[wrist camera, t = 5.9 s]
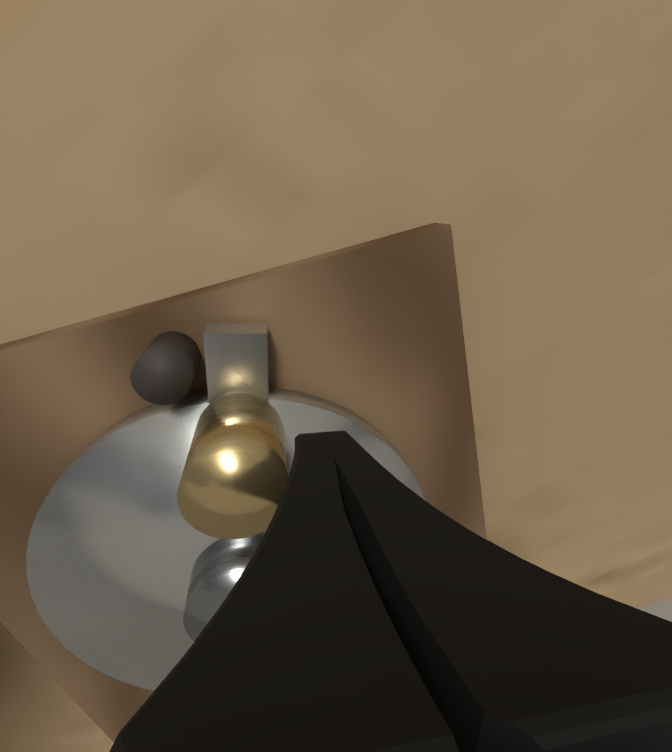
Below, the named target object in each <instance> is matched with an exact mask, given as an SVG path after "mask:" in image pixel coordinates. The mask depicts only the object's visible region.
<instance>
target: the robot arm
mask: <svg viewBox="0 0 672 752" xmlns="http://www.w3.org/2000/svg"><path fill="white" fill-rule="evenodd" d="M294 441H295V452H294V458H293V462H292V466H291V470H290V473H289V476H288V479H287V483H286V486H285V489H284V491H283V494H282V496H281V499H280V501H279V503H278V506H277V508H276V511H275V513H274V515H273V518H272V520H271V522H270V524H269V526H268V528H267V530H266V532H265V534H264V536H263V538H262V540H261V542H260V543H259V545H258V547H257V549H256V551H255V553H254V554H253V556H252V558H251V559H250V561H249V563H248V564H247V566H246V568H245V569H244V571H243V573H242V574H241V576H240V577H239V579H238V581H237V582H236V584H235V585H234V587H233V588H232V590H231V591H230V593H229V594H228V596H227V597H226V599H225V600H224V602H223V603H222V605H221V606H220V607H219V609H218V610H217V611H216V613H215V614H214V615H213V617H212V618H211V620H210V621H209V622H208V624H207V625H206V626H205V628H204V629H203V630H202V632H201V633H200V635H199V636H198V637H197V639H196V640H195V641H194V643H193V644H192V646H191V647H190V648H189V649H188V651H187V652H186V653H185V654H184V656H183V657H182V658H181V660H180V661H179V662H178V663H177V664H176V666H175V667H174V668H173V669H172V670H171V672H170V673H169V674H168V675H167V676H166V677H165V679H164V680H163V681H162V682H161V683H160V685H159V686H158V687H157V688H156V689H155V691H154V692H153V693H152V694H151V695H150V696H149V698H148V699H147V700H146V701H145V702H144V704H143V705H142V706H141V707H140V708H139V709H138V711H137V712H136V713H135V714H134V715H133V717H132V718H131V719H130V720H129V721H128V722H127V724H126V725H125V726H124V727H123V728H122V730H121V731H120V732H119V734H118V735H117V737H116V739H115V742H114V744H113V746H112V748H111V750H110V752H672V622H670V621H667V620H665V619H662V618H659V617H657V616H654V615H652V614H649V613H647V612H644V611H641V610H639V609H636V608H634V607H631V606H628V605H626V604H623V603H621V602H618V601H615V600H613V599H610V598H608V597H605V596H603V595H600V594H598V593H595V592H593V591H590V590H588V589H586V588H584V587H581V586H579V585H577V584H575V583H572V582H570V581H568V580H566V579H564V578H561V577H559V576H557V575H555V574H552V573H550V572H548V571H546V570H544V569H542V568H540V567H538V566H536V565H534V564H532V563H530V562H527V561H525V560H523V559H521V558H519V557H517V556H516V555H514V554H512V553H510V552H508V551H506V550H505V549H503V548H501V547H499V546H497V545H495V544H493V543H492V542H490V541H488V540H486V539H484V538H482V537H481V536H479V535H477V534H476V533H474V532H472V531H470V530H469V529H467V528H466V527H464V526H462V525H461V524H459V523H458V522H456V521H455V520H453V519H452V518H450V517H448V516H447V515H445V514H444V513H442V512H441V511H439V510H438V509H436V508H435V507H433V506H432V505H431V504H429V503H428V502H426V501H425V500H424V499H422V498H421V497H420V496H418V495H417V494H416V493H415V492H413V491H412V490H411V489H409V488H408V487H407V486H405V485H404V484H403V483H402V482H401V481H399V480H398V479H397V478H396V477H394V476H393V475H392V474H391V473H390V472H389V471H388V470H386V469H385V468H384V467H383V466H382V465H381V464H380V463H379V462H378V461H376V460H375V459H374V458H373V457H372V456H371V455H370V454H369V453H368V452H367V451H366V450H365V449H364V448H363V447H362V446H361V445H360V444H359V443H358V442H357V441H355V440H354V439H353V438H352V437H351V436H350V435H349V434H348V433H347V432H346V431H345V430H344V431H331V432H317V433H304V434H299V435H297V436H296V437H295V438H294Z"/></svg>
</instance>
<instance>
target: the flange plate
mask: <svg viewBox="0 0 672 752" xmlns="http://www.w3.org/2000/svg"><path fill="white" fill-rule="evenodd" d="M203 340H204V352H205V364H206V376H207V389H204V390H199V391H194V392H189V393H187V394H186V395H185V397H184V398H182V399H181V400H180V401H178V402H176V403H173V404H169V405H158V404H151V405H149V406H147V407H145V408H142V409H140V410H138V411H136V412H134V413H132V414H130V415H128V416H126V417H124V418H123V419H121V420H120V421H118V422H117V423H115V424H114V425H112V426H111V427H109V428H107V429H106V430H104V431H103V432H102V433H101V434H100V435H98V436H97V437H96V438H95V439H94V440H93V441H91V442H90V443H89V444H88V445H87V446H86V447H84V448H83V449H82V451H81V452H80V453H79V454H78V455H77V457H76V458H75V459H74V460H73V461H72V462H71V464H70V465H69V466H68V467H67V468H66V470H65V471H64V472H63V474H62V475H61V476H60V478H59V479H58V481H57V482H56V483H55V485H54V486H53V487H52V489H51V490H50V492H49V493H48V495H47V497H46V498H45V500H44V502H43V503H42V505H41V507H40V508H39V510H38V512H37V515H36V518H35V520H34V523H33V526H32V528H31V531H30V534H29V540H28V546H27V552H26V573H27V580H28V585H29V589H30V593H31V597H32V599H33V602H34V604H35V606H36V608H37V611H38V613H39V615H40V617H41V618H42V620H43V621H44V623H45V624H46V626H47V627H48V628H49V630H50V631H51V633H52V634H53V635H54V636H55V637H56V638H57V639H58V640H59V641H60V642H61V643H62V644H63V645H64V647H65V648H66V649H68V650H69V651H70V652H72V653H73V654H74V655H75V656H77V657H78V658H79V659H80V660H82V661H83V662H85V663H86V664H88V665H90V666H91V667H93V668H95V669H97V670H98V671H100V672H102V673H104V674H106V675H108V676H111V677H113V678H115V679H117V680H119V681H122V682H125V683H128V684H131V685H134V686H137V687H140V688H144V689H148V690H153V691H155V689H156V688H157V687H158V686H159V685H160V683H161V682H162V681H163V680H164V679H165V677H166V676H167V675H168V674H169V673H170V672H171V670H172V669H173V668H174V667H175V666H176V664H177V663H178V662H179V661H180V660H181V658H182V657H183V656H184V654H185V653H186V652H187V651H188V649H189V648H190V647H191V646H192V644H193V643H194V641H195V640H196V639H197V637H198V636H199V635H200V633H201V632H202V630H203V629H204V628H205V626H206V625H207V624H208V622H209V621H210V620H211V618H212V617H213V615H214V614H215V613H216V611H217V610H218V609H219V607H220V606H221V605H222V603H223V602H224V600H225V599H226V597H227V596H228V594H229V593H230V591H231V590H232V588H233V587H234V585H235V584H236V582H237V581H238V579H239V577H240V576H241V574H242V573H243V571H244V569H245V568H246V566H247V564H248V563H249V561H250V559H251V558H252V556H253V554H254V553H255V551H256V549H257V547H258V545H259V543H260V542H261V540H262V538H263V536H264V534H265V532H266V530H267V528H268V526H269V524H270V522H271V520H272V518H273V515H274V513H275V511H276V508H277V506H278V503H279V501H280V499H281V496H282V494H283V491H284V489H285V486H286V483H287V479H288V476H289V473H290V470H291V466H292V462H293V458H294V452H295V441H294V438H295V437H296V436H297V435H299V434H304V433H317V432H331V431H344V430H345V431H346V432H347V433H348V434H349V435H350V436H351V437H352V438H353V439H354V440H355V441H357V442H358V443H359V444H360V445H361V446H362V447H363V448H364V449H365V450H366V451H367V452H368V453H369V454H370V455H371V456H372V457H373V458H374V459H375V460H376V461H378V462H379V463H380V464H381V465H382V466H383V467H384V468H385V469H386V470H388V471H389V472H390V473H391V474H392V475H393V476H394V477H396V478H397V479H398V480H399V481H401V482H402V483H403V484H404V485H405V486H407V487H408V488H409V489H411V490H412V491H413V492H415V493H416V494H417V495H418V496H420V497H421V498H422V499H424V500H425V497H424V495H423V493H422V490H421V488H420V486H419V484H418V482H417V480H416V478H415V476H414V475H413V473H412V471H411V469H410V468H409V466H408V464H407V463H406V461H405V460H404V458H403V457H402V455H401V454H400V452H399V451H398V449H397V448H396V447H395V446H394V445H393V444H392V442H391V441H390V440H389V439H388V438H387V437H386V436H385V435H384V434H383V433H382V432H381V431H380V430H378V429H377V428H376V427H375V426H373V425H372V424H371V423H370V422H368V421H367V420H366V419H364V418H362V417H361V416H359V415H357V414H356V413H354V412H352V411H351V410H349V409H347V408H345V407H343V406H341V405H338V404H336V403H334V402H331V401H329V400H327V399H324V398H321V397H318V396H314V395H311V394H307V393H304V392H300V391H296V390H289V389H283V388H276V387H270V386H268V344H267V323H208V324H207V326H206V328H205V330H204V333H203ZM425 501H426V500H425Z"/></svg>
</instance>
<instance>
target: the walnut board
mask: <svg viewBox="0 0 672 752" xmlns="http://www.w3.org/2000/svg"><path fill="white" fill-rule="evenodd" d="M208 323H267V344H268V386H270V387H276V388H283V389H289V390H296V391H300V392H304V393H307V394H311V395H314V396H318V397H321V398H324V399H327V400H329V401H331V402H334V403H336V404H338V405H341V406H343V407H345V408H347V409H349V410H351V411H352V412H354V413H356V414H357V415H359V416H361V417H362V418H364V419H366V420H367V421H368V422H370V423H371V424H372V425H373V426H375V427H376V428H377V429H378V430H380V431H381V432H382V433H383V434H384V435H385V436H386V437H387V438H388V439H389V440H390V441H391V442H392V444H393V445H394V446H395V447H396V448H397V449H398V451H399V452H400V454H401V455H402V457H403V458H404V460H405V461H406V463H407V464H408V466H409V468H410V469H411V471H412V473H413V475H414V476H415V478H416V480H417V482H418V484H419V486H420V488H421V490H422V493H423V495H424V497H425V500H426V502H428V503H429V504H431V505H432V506H433V507H435V508H436V509H438V510H439V511H441V512H442V513H444V514H445V515H447V516H448V517H450V518H452V519H453V520H455V521H456V522H458V523H459V524H461V525H462V526H464V527H466V528H467V529H469V530H470V531H472V532H474V533H476V534H477V535H479V536H481V537H482V538H484V539H486V530H485V521H484V512H483V504H482V495H481V486H480V477H479V468H478V460H477V451H476V442H475V433H474V424H473V416H472V407H471V398H470V389H469V380H468V372H467V363H466V354H465V345H464V336H463V328H462V319H461V310H460V301H459V292H458V284H457V275H456V266H455V257H454V248H453V240H452V231H451V225H449V224H439V223H433V224H429V225H425V226H422V227H418V228H415V229H411V230H408V231H404V232H401V233H397V234H393V235H390V236H386V237H383V238H379V239H376V240H372V241H368V242H365V243H361V244H358V245H354V246H351V247H347V248H344V249H340V250H336V251H333V252H329V253H326V254H322V255H319V256H315V257H311V258H308V259H304V260H301V261H297V262H294V263H290V264H287V265H283V266H279V267H276V268H272V269H269V270H265V271H262V272H258V273H254V274H251V275H247V276H244V277H240V278H237V279H233V280H230V281H226V282H222V283H219V284H215V285H212V286H208V287H205V288H201V289H198V290H194V291H190V292H187V293H183V294H180V295H176V296H173V297H169V298H165V299H162V300H158V301H155V302H151V303H148V304H144V305H141V306H137V307H133V308H130V309H126V310H123V311H119V312H116V313H112V314H108V315H105V316H101V317H98V318H94V319H91V320H87V321H84V322H80V323H76V324H73V325H69V326H66V327H62V328H59V329H55V330H51V331H48V332H44V333H41V334H37V335H34V336H30V337H27V338H23V339H19V340H16V341H12V342H9V343H5V344H2V345H0V623H1V624H2V625H3V626H4V627H5V628H6V629H7V630H8V631H9V632H10V633H11V635H12V636H13V637H14V638H15V639H16V640H17V641H18V642H19V643H20V644H21V645H22V646H23V647H24V648H25V649H26V650H27V651H28V652H29V653H30V655H31V656H32V657H33V658H34V659H35V660H36V661H37V662H38V663H39V664H40V665H41V666H42V667H43V668H44V669H45V670H46V671H47V672H48V673H49V675H50V676H51V677H52V678H53V679H54V680H55V681H56V682H57V683H58V684H59V685H60V686H61V687H62V688H63V689H64V690H65V691H66V692H67V693H68V695H69V696H70V697H71V698H72V699H73V700H74V701H75V702H76V703H77V704H78V705H79V706H80V707H81V708H82V709H83V710H84V711H85V712H86V714H87V715H88V716H89V717H90V718H91V719H92V720H93V721H94V722H95V723H96V724H97V725H98V726H99V727H100V728H101V729H102V730H103V731H104V732H105V734H106V735H107V736H108V737H109V738H110V739H111V740H112V741H113V742H115V739H116V737H117V735H118V734H119V732H120V731H121V730H122V728H123V727H124V726H125V725H126V724H127V722H128V721H129V720H130V719H131V718H132V717H133V715H134V714H135V713H136V712H137V711H138V709H139V708H140V707H141V706H142V705H143V704H144V702H145V701H146V700H147V699H148V698H149V696H150V695H151V694H152V693H153V692H154V691H153V690H148V689H144V688H140V687H137V686H134V685H131V684H128V683H125V682H122V681H119V680H117V679H115V678H113V677H111V676H108V675H106V674H104V673H102V672H100V671H98V670H97V669H95V668H93V667H91V666H90V665H88V664H86V663H85V662H83V661H82V660H80V659H79V658H78V657H77V656H75V655H74V654H73V653H72V652H70V651H69V650H68V649H66V648H65V647H64V645H63V644H62V643H61V642H60V641H59V640H58V639H57V638H56V637H55V636H54V635H53V634H52V633H51V631H50V630H49V628H48V627H47V626H46V624H45V623H44V621H43V620H42V618H41V617H40V615H39V613H38V611H37V608H36V606H35V604H34V602H33V599H32V597H31V593H30V589H29V585H28V580H27V573H26V552H27V546H28V540H29V534H30V531H31V528H32V526H33V523H34V520H35V518H36V515H37V512H38V510H39V508H40V507H41V505H42V503H43V502H44V500H45V498H46V497H47V495H48V493H49V492H50V490H51V489H52V487H53V486H54V485H55V483H56V482H57V481H58V479H59V478H60V476H61V475H62V474H63V472H64V471H65V470H66V468H67V467H68V466H69V465H70V464H71V462H72V461H73V460H74V459H75V458H76V457H77V455H78V454H79V453H80V452H81V451H82V449H83V448H84V447H86V446H87V445H88V444H89V443H90V442H91V441H93V440H94V439H95V438H96V437H97V436H98V435H100V434H101V433H102V432H103V431H104V430H106V429H107V428H109V427H111V426H112V425H114V424H115V423H117V422H118V421H120V420H121V419H123V418H124V417H126V416H128V415H130V414H132V413H134V412H136V411H138V410H140V409H142V408H145V407H147V406H149V405H151V404H158V405H169V404H173V403H176V402H178V401H180V400H181V399H182V398H184V397H185V395H186V394H187V393H189V392H194V391H199V390H204V389H207V376H206V364H205V352H204V340H203V333H204V330H205V328H206V326H207V324H208ZM486 540H487V539H486Z"/></svg>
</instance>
